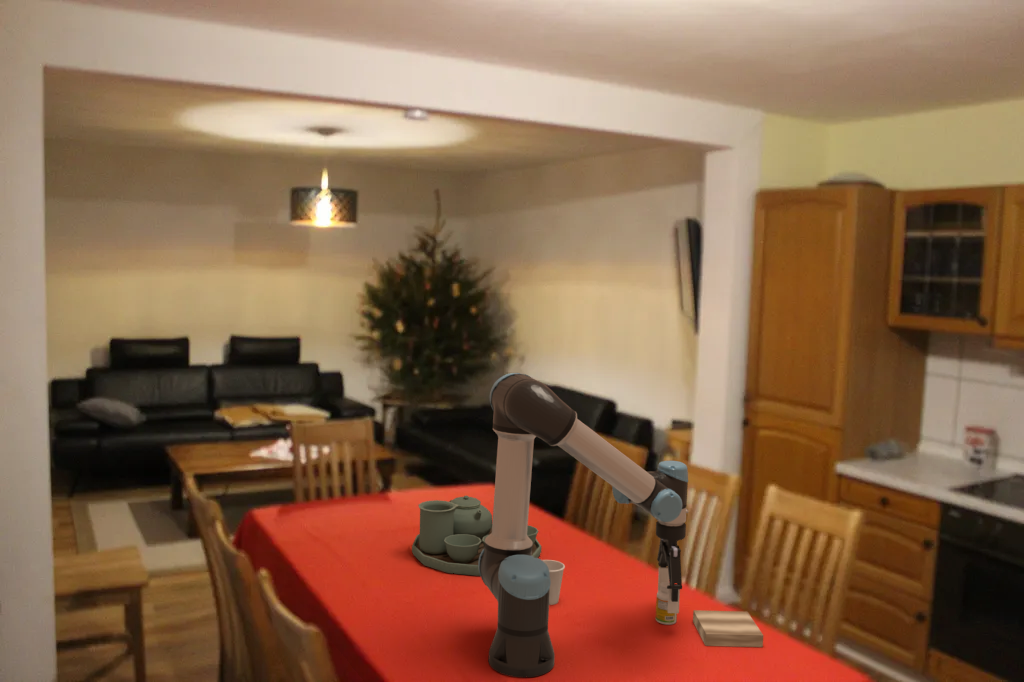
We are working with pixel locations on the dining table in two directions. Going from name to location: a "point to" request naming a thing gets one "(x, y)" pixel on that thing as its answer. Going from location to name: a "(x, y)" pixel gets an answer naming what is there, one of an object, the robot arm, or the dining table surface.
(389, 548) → the dining table surface
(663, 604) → the supplement bottle
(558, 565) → the dixie cup
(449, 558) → the tea set
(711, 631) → the birch stand
